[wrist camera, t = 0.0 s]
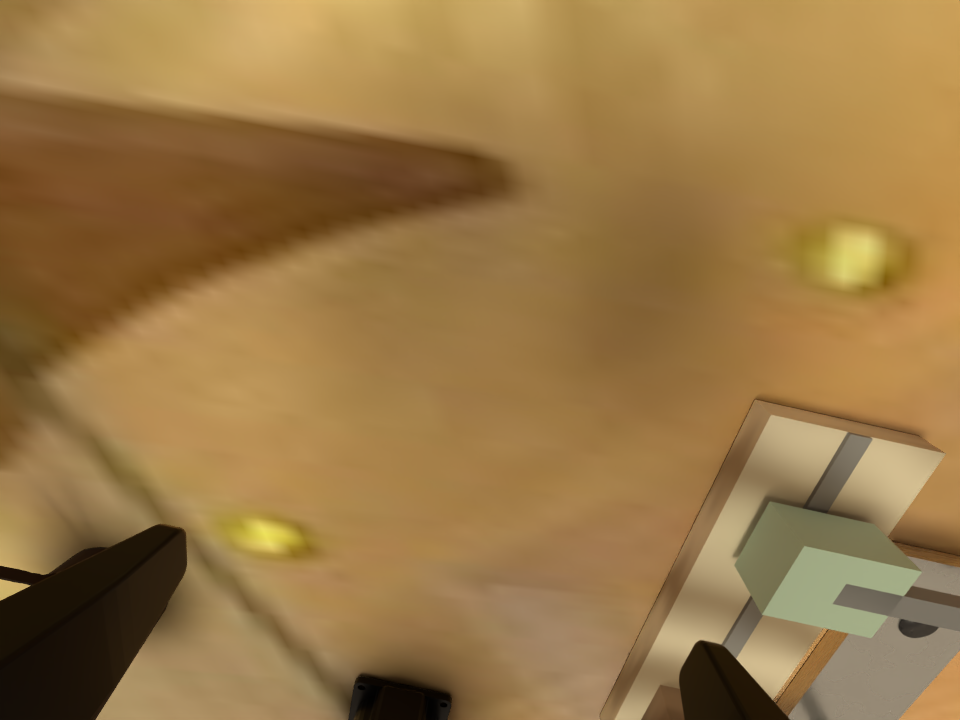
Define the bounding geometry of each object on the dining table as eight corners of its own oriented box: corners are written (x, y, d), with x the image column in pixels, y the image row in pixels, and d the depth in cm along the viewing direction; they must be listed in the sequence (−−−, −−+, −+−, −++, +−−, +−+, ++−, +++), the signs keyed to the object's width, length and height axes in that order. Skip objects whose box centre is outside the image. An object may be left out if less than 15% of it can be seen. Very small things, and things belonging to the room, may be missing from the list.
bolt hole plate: (832, 764, 31) (843, 784, 30) (745, 746, 31) (753, 765, 30) (1001, 565, 25) (1022, 582, 24) (891, 541, 24) (907, 556, 23)
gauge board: (796, 756, 31) (843, 853, 27) (599, 715, 31) (613, 806, 27) (1030, 460, 22) (1159, 533, 18) (755, 399, 22) (815, 457, 18)
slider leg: (960, 608, 24) (1023, 671, 21) (730, 558, 24) (761, 614, 21) (1009, 549, 22) (1086, 607, 19) (765, 495, 22) (804, 545, 19)
